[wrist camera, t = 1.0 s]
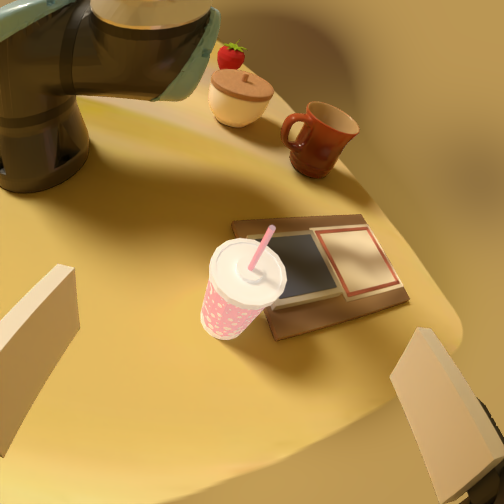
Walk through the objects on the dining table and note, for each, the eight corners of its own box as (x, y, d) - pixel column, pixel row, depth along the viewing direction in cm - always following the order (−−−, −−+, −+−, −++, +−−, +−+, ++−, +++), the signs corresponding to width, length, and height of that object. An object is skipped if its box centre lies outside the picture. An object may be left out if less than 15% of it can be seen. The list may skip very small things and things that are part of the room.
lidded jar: (266, 118, 58) (283, 77, 51) (249, 143, 51) (268, 95, 44) (216, 98, 58) (228, 56, 51) (191, 119, 51) (203, 70, 44)
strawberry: (232, 71, 69) (244, 35, 61) (241, 85, 65) (254, 46, 57) (208, 68, 66) (220, 31, 59) (215, 82, 62) (227, 41, 55)
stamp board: (231, 225, 39) (235, 214, 38) (358, 217, 48) (364, 209, 47) (275, 341, 32) (282, 333, 30) (406, 301, 41) (415, 294, 39)
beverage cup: (214, 281, 34) (254, 181, 23) (263, 313, 33) (326, 227, 23) (180, 323, 30) (207, 229, 19) (233, 359, 29) (294, 285, 19)
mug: (317, 151, 56) (341, 106, 48) (339, 185, 52) (369, 138, 44) (257, 147, 51) (279, 94, 43) (277, 183, 47) (304, 127, 39)
